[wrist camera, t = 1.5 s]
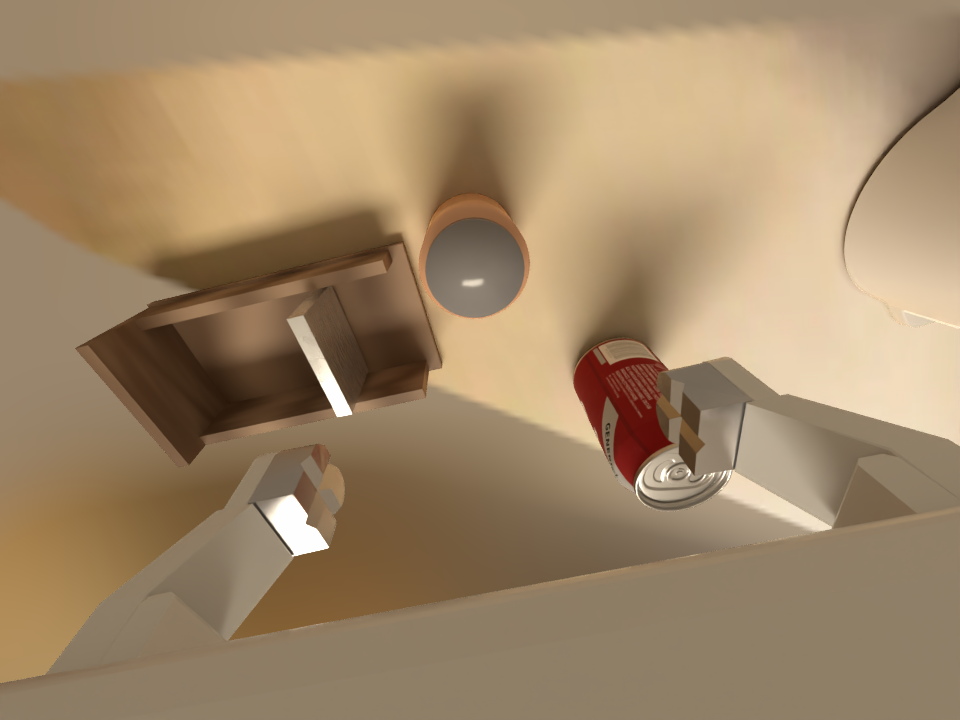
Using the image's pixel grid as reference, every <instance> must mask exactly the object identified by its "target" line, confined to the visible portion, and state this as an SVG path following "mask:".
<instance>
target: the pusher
mask: <svg viewBox="0 0 960 720" xmlns="http://www.w3.org/2000/svg"><path fill="white" fill-rule="evenodd" d="M287 321H288V323H289V325H290V327H291V329H292V331H293V333H294V334H295V336H296V338H297V340H298V342H299V344H300V346H301V348H302V350H303V352H304V354H305V355H306V357H307V359H308V361H309V363H310V365H311V367H312V369H313V371H314V373H315V375H316V376H317V378H318V380H319V382H320V384H321V386H322V388H323V390H324V392H325V394H326V396H327V397H328V399H329V401H330V403H331V405H332V407H333V409H334V411H335V413H336V415H337V417H340V416H344V415H348V414H352V413H353V410H354V408H355V405H356V402H357V400H358V397H359V395H360V392H361V389H362V387H363V384H364V381H365V379H366V376H367V374H368V371H369V369H368V367H367V365H366V362H365V360H364V358H363V356H362V353H361V351H360V349H359V346H358V344H357V342H356V339H355V337H354V335H353V333H352V330H351V328H350V326H349V323H348V321H347V319H346V317H345V314H344V312H343V310H342V307H341V305H340V303H339V300H338V298H337V296H336V294H335V291H334V289H333V287H332V286H328V287H324V288H320V289H316V290H314V291H313V292H312V293H311V294H310V295H309V296H308V297H307V298H306V299H305V300H304V301H303V302H302V303H301V304H300V305H299V307H298V308H297V309H296V310H295V311H294V312H293V313H292V314H291V315H290V316H289V317H288V318H287Z"/></svg>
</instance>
